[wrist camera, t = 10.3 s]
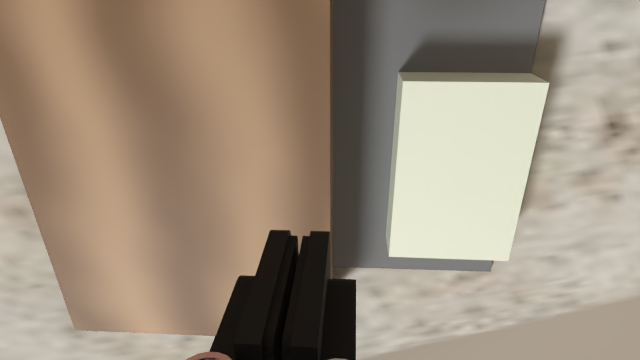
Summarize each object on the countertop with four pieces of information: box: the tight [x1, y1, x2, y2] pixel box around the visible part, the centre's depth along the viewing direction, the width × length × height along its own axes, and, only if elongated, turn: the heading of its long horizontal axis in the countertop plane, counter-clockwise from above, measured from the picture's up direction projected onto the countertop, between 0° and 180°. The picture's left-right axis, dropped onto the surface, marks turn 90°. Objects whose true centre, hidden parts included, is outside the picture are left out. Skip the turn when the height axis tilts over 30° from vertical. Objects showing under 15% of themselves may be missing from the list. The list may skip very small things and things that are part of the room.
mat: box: [333, 0, 545, 272], centre depth 21 cm, size 9×16×1 cm, turn 1°
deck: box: [0, 0, 334, 336], centre depth 20 cm, size 14×22×4 cm, turn 1°
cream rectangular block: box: [386, 72, 549, 261], centre depth 20 cm, size 6×9×2 cm, turn 0°
